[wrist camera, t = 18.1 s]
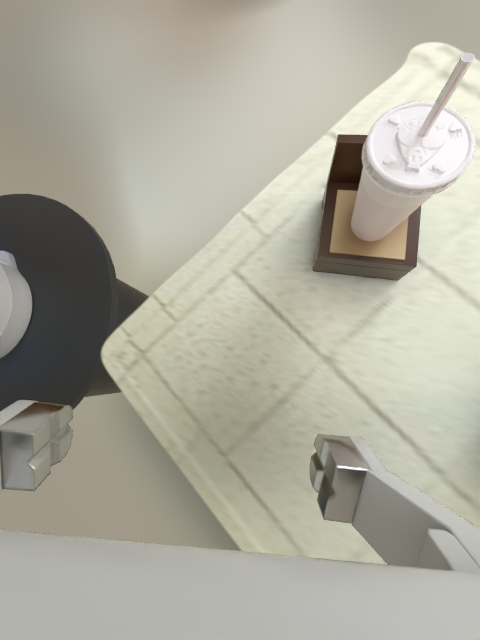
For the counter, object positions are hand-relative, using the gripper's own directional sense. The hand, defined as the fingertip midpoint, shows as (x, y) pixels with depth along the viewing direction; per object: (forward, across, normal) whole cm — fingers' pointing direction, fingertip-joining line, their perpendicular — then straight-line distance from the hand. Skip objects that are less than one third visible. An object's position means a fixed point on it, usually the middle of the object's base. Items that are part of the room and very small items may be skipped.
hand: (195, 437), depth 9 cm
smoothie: (+20, -13, -11) cm, 26 cm away
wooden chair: (+24, -14, -10) cm, 29 cm away
